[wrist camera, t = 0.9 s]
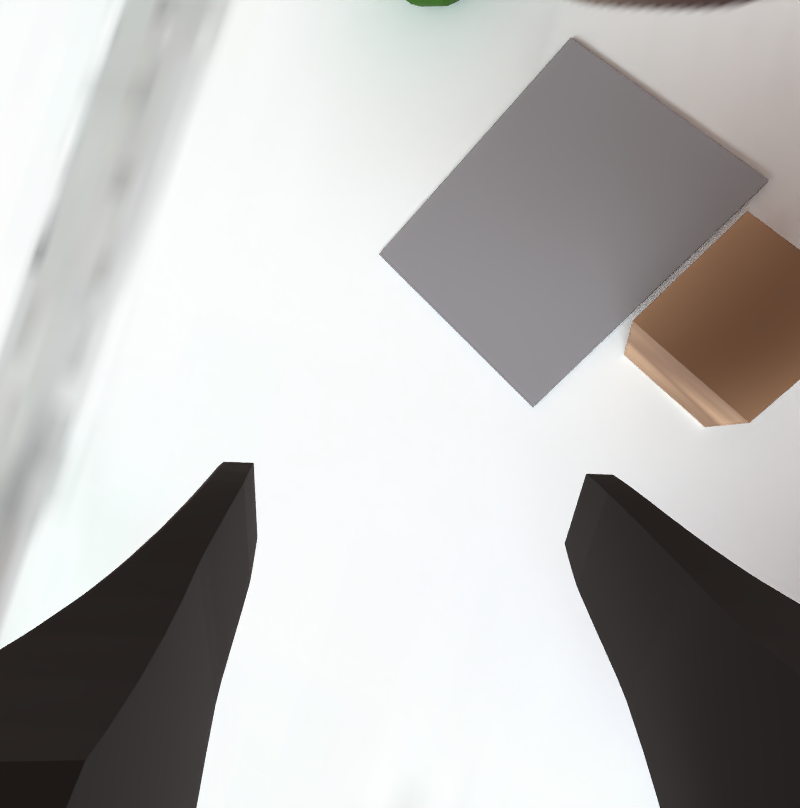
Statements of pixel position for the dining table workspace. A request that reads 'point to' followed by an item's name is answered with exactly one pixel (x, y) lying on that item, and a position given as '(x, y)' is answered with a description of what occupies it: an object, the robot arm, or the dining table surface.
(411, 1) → the bell pepper
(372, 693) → the dining table surface
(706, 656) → the robot arm
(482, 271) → the slate mat
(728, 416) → the walnut block
